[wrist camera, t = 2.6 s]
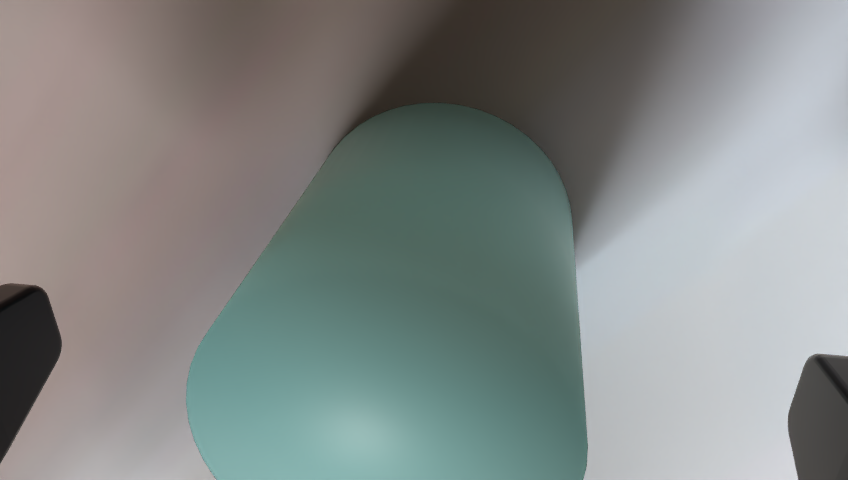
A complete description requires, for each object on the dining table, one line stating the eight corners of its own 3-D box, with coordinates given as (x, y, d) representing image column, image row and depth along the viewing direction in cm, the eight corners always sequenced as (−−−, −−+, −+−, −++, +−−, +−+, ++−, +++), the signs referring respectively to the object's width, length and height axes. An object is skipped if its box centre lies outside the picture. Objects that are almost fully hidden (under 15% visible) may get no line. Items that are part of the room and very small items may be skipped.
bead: (559, 344, 12) (565, 597, 8) (323, 322, 12) (217, 550, 8) (586, 109, 10) (614, 290, 6) (302, 96, 10) (151, 253, 6)
